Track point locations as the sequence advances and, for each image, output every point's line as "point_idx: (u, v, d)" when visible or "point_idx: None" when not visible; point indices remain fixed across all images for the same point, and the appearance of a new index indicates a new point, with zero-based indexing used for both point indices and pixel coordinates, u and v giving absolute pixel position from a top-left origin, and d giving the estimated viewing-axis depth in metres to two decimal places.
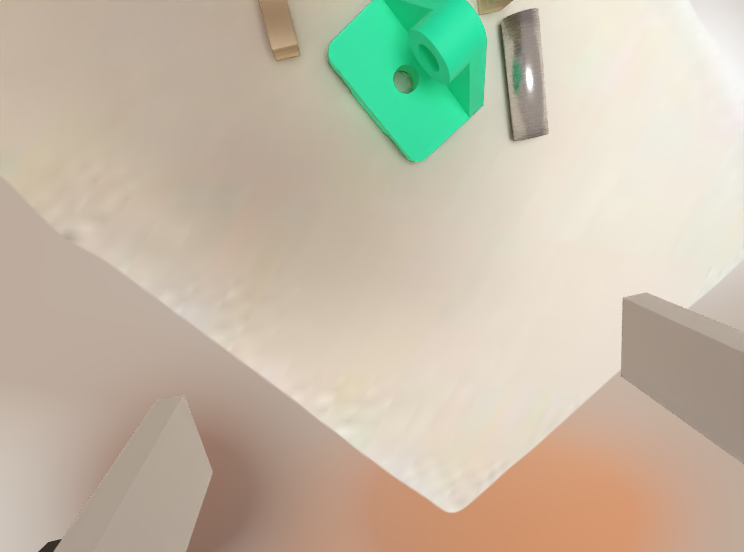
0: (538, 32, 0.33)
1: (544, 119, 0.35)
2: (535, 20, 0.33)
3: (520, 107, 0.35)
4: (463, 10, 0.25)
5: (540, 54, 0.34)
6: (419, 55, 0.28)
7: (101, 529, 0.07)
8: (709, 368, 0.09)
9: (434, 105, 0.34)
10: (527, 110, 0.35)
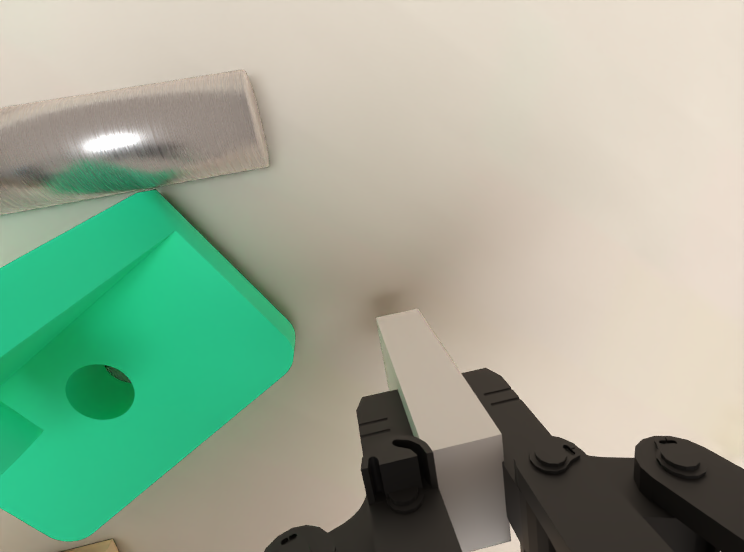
0: (2, 211, 0.12)
1: (228, 172, 0.13)
2: None
3: None
4: None
5: (58, 201, 0.12)
6: None
7: (424, 376, 0.10)
8: None
9: (154, 324, 0.13)
10: None
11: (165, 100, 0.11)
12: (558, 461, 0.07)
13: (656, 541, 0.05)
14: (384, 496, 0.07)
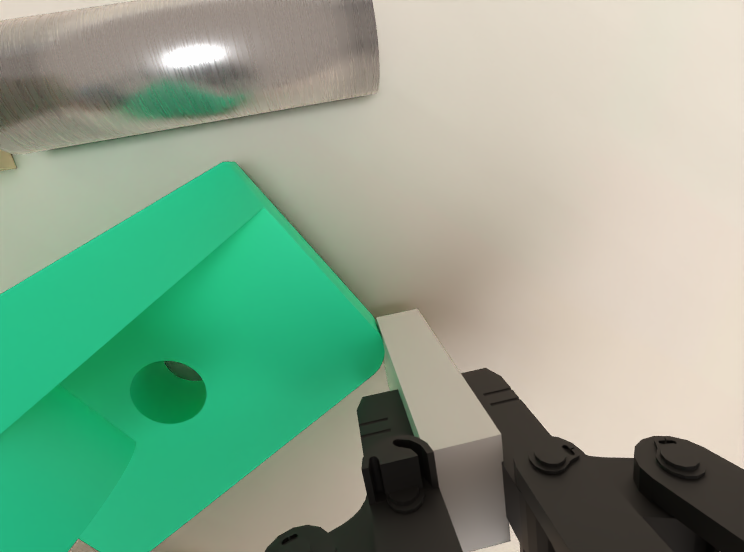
0: (32, 91, 0.09)
1: (327, 52, 0.10)
2: (0, 109, 0.09)
3: None
4: None
5: (105, 77, 0.09)
6: None
7: (425, 376, 0.10)
8: None
9: (233, 316, 0.12)
10: (295, 104, 0.11)
11: None
12: (557, 461, 0.07)
13: (655, 541, 0.05)
14: (385, 496, 0.07)
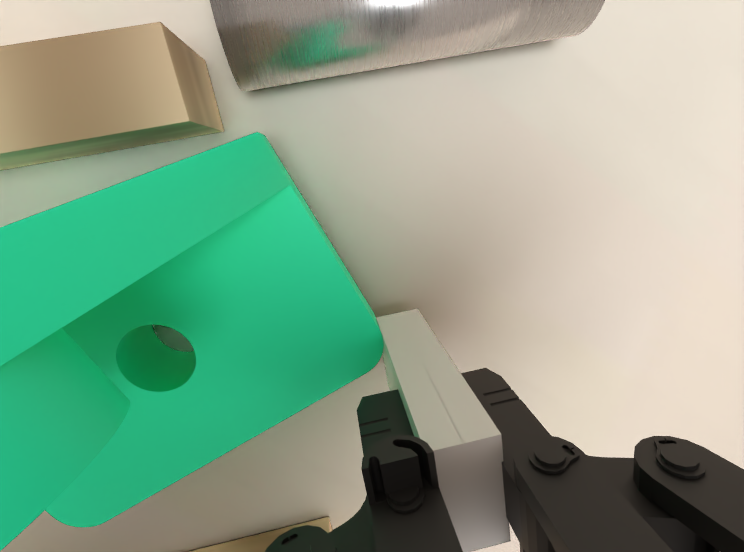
0: None
1: None
2: (250, 5, 0.09)
3: (495, 44, 0.11)
4: None
5: None
6: None
7: (425, 376, 0.10)
8: None
9: (237, 290, 0.11)
10: (516, 28, 0.11)
11: None
12: (557, 461, 0.07)
13: (655, 541, 0.05)
14: (385, 496, 0.07)
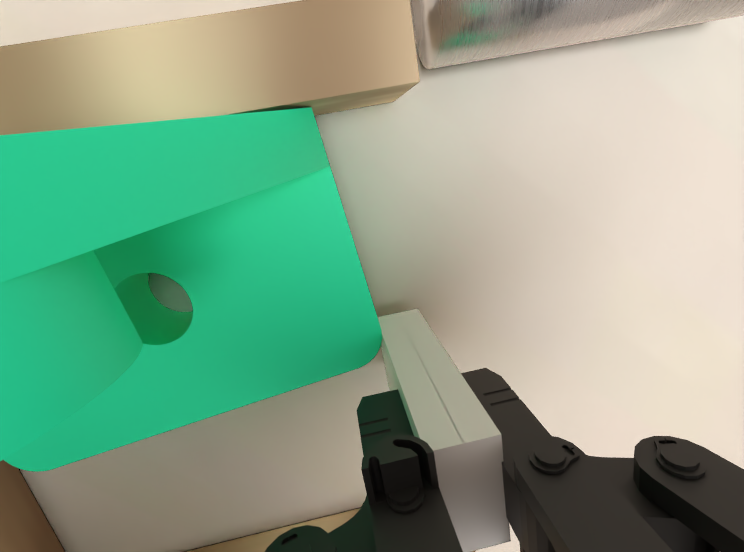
0: None
1: None
2: None
3: (664, 27, 0.12)
4: None
5: None
6: None
7: (425, 376, 0.10)
8: None
9: (252, 258, 0.11)
10: (692, 14, 0.11)
11: None
12: (557, 461, 0.07)
13: (655, 541, 0.05)
14: (385, 496, 0.07)
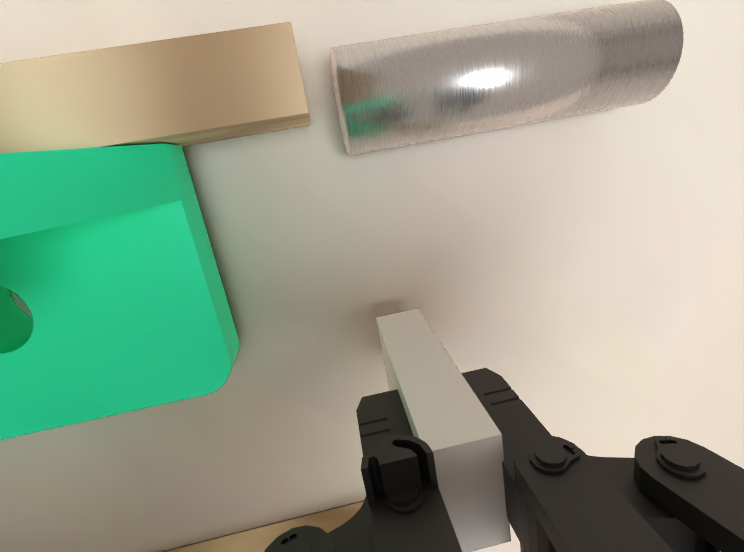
0: (406, 142, 0.12)
1: (610, 107, 0.13)
2: None
3: None
4: None
5: (458, 133, 0.12)
6: None
7: (424, 376, 0.10)
8: None
9: (98, 279, 0.11)
10: None
11: (605, 24, 0.11)
12: (558, 461, 0.07)
13: (656, 541, 0.05)
14: (384, 496, 0.07)
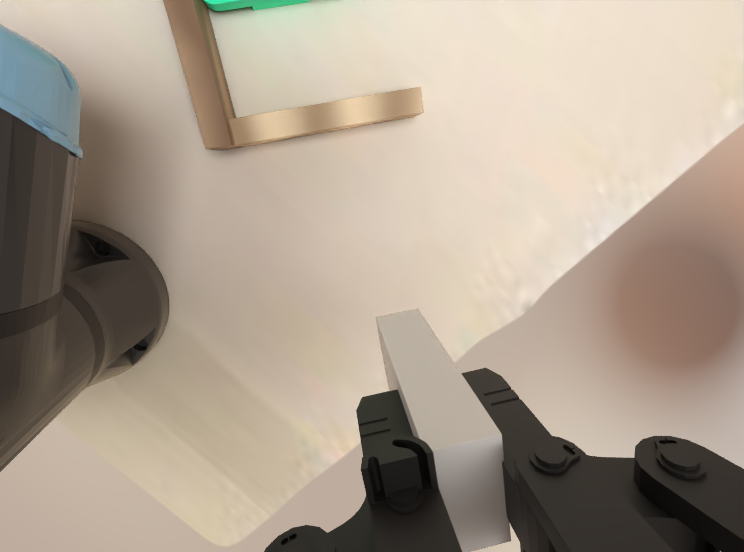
0: None
1: None
2: None
3: None
4: None
5: None
6: None
7: (424, 376, 0.10)
8: None
9: None
10: None
11: None
12: (558, 461, 0.07)
13: (656, 541, 0.05)
14: (384, 496, 0.07)
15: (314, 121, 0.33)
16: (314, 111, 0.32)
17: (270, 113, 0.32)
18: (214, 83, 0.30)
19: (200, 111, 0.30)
